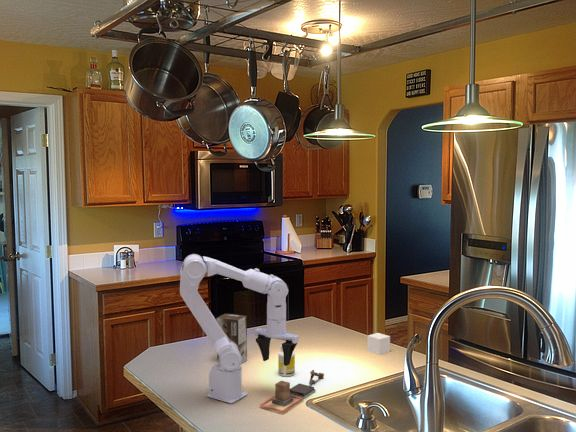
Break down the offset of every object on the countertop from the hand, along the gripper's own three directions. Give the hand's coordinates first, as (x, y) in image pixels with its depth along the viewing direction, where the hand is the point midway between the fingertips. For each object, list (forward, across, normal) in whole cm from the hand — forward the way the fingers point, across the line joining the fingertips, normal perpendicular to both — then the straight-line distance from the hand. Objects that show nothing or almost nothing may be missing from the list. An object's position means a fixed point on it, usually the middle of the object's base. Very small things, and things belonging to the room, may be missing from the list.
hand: (276, 362), depth 164 cm
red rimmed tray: (+9, -6, +6) cm, 13 cm away
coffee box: (+10, +29, -15) cm, 34 cm away
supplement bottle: (+10, +6, -15) cm, 19 cm away
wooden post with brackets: (+10, -6, -15) cm, 19 cm away
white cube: (+10, -10, -54) cm, 56 cm away
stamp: (+9, -6, +6) cm, 12 cm away
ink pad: (+9, -6, -4) cm, 12 cm away
